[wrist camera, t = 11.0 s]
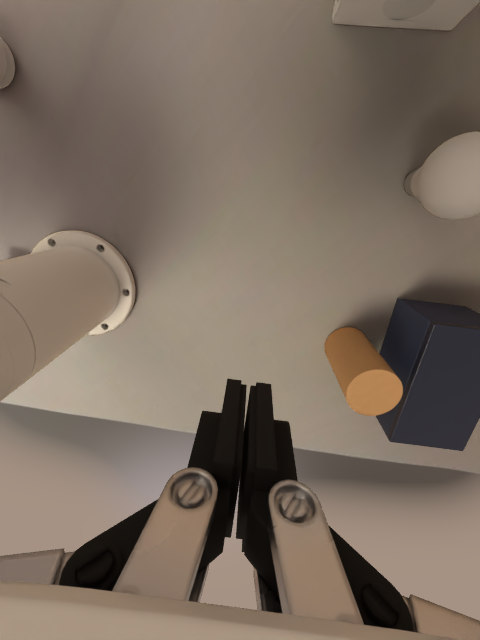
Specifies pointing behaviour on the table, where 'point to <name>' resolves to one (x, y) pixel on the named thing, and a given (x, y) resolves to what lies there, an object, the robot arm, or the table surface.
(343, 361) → the orange-brown cylinder
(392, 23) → the cosmetics box
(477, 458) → the table surface
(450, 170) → the lightbulb
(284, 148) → the table surface
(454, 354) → the navy box
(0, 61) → the rook chess piece
